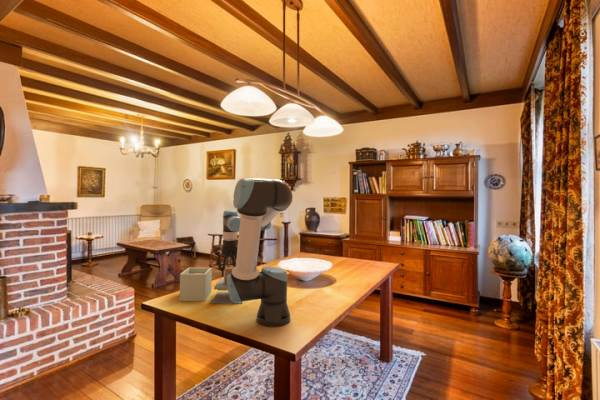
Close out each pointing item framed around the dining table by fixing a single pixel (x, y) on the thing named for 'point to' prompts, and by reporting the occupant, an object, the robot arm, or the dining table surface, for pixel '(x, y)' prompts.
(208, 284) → the box
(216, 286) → the lid
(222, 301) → the mat
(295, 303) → the dining table surface
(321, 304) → the dining table surface
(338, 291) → the dining table surface
